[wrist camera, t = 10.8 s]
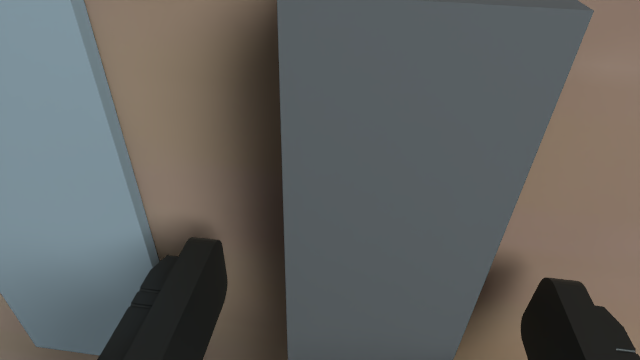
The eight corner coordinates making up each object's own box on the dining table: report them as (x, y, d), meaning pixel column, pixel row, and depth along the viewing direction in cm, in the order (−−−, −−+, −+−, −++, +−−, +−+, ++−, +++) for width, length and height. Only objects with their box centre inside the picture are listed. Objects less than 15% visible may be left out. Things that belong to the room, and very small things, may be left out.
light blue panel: (186, 356, 16) (183, 366, 16) (42, 337, 17) (36, 346, 16) (69, -48, 8) (57, -44, 8) (-211, -64, 8) (-234, -60, 8)
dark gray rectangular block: (403, 374, 16) (408, 470, 13) (305, 361, 16) (290, 453, 13) (519, -35, 7) (593, 11, 5) (310, -46, 8) (276, -8, 5)
